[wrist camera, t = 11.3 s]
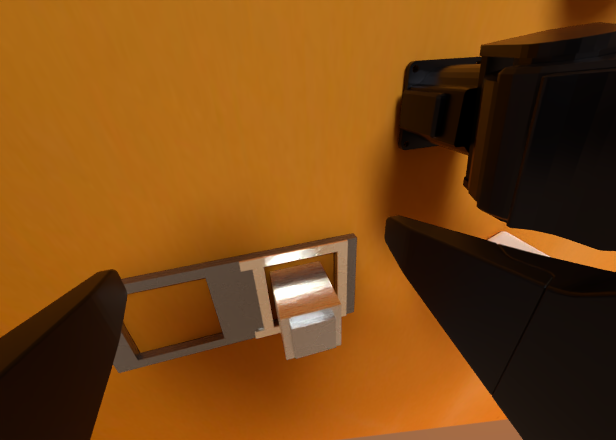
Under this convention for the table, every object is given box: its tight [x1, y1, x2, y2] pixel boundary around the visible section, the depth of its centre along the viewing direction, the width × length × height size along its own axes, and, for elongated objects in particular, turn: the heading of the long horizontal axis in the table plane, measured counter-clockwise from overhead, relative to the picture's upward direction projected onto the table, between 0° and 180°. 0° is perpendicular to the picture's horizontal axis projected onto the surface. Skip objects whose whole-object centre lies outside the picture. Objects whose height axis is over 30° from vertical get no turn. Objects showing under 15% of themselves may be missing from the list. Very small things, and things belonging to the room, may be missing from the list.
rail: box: [113, 233, 357, 373], centre depth 26 cm, size 24×10×1 cm, turn 94°
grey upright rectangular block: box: [270, 261, 341, 360], centre depth 25 cm, size 5×5×7 cm
